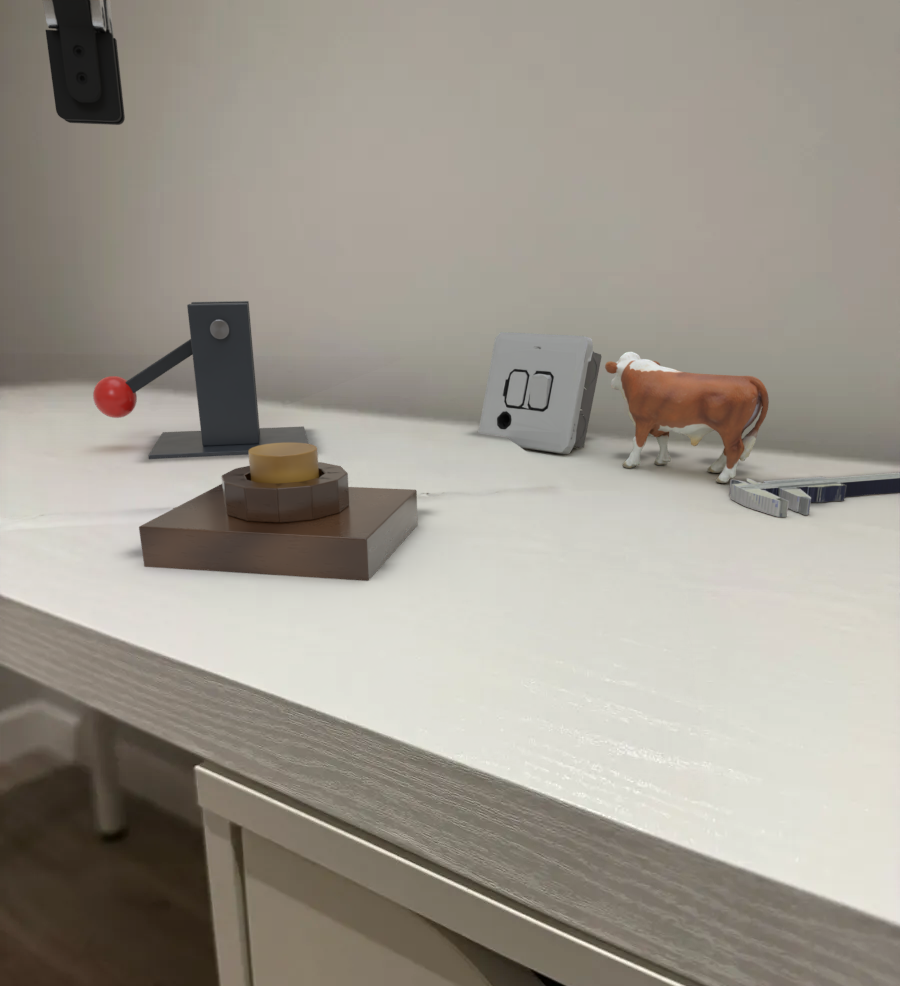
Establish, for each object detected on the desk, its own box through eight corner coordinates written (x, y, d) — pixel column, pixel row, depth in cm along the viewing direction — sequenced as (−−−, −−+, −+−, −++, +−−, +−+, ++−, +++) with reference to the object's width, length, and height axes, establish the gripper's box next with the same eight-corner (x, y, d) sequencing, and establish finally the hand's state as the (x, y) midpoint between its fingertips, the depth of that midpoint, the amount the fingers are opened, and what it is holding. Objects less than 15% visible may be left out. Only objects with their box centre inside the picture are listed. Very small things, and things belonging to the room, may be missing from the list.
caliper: (786, 501, 52) (713, 480, 57) (783, 519, 53) (712, 496, 58) (1008, 468, 60) (927, 451, 66) (1005, 483, 61) (924, 466, 66)
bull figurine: (618, 452, 71) (624, 348, 69) (769, 479, 62) (784, 360, 59) (582, 460, 69) (587, 352, 66) (735, 490, 59) (749, 365, 56)
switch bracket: (150, 470, 67) (128, 306, 62) (164, 446, 76) (146, 301, 72) (310, 463, 69) (299, 303, 65) (305, 439, 78) (295, 299, 74)
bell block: (143, 567, 45) (132, 491, 44) (228, 516, 54) (222, 451, 53) (368, 582, 43) (365, 501, 41) (417, 525, 52) (416, 458, 50)
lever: (108, 428, 68) (80, 393, 67) (114, 422, 71) (88, 388, 70) (248, 336, 68) (222, 299, 67) (248, 333, 71) (224, 297, 69)
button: (240, 487, 46) (236, 454, 45) (267, 472, 49) (264, 441, 49) (305, 490, 45) (302, 456, 45) (328, 475, 48) (326, 443, 48)
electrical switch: (475, 443, 76) (482, 330, 73) (511, 440, 79) (519, 333, 77) (566, 457, 70) (578, 335, 67) (601, 453, 74) (613, 338, 71)
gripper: (-4, -253, 47) (49, 136, 53) (-117, -463, 33) (-27, 95, 40) (144, -237, 48) (178, 141, 55) (94, -432, 34) (147, 103, 41)
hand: (91, 120), depth 47 cm, fingers closed
